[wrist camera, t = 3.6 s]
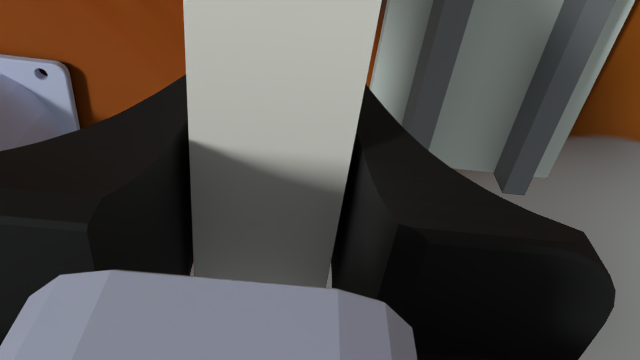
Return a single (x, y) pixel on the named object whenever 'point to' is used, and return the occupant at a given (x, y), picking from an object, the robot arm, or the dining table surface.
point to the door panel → (272, 131)
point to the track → (493, 77)
